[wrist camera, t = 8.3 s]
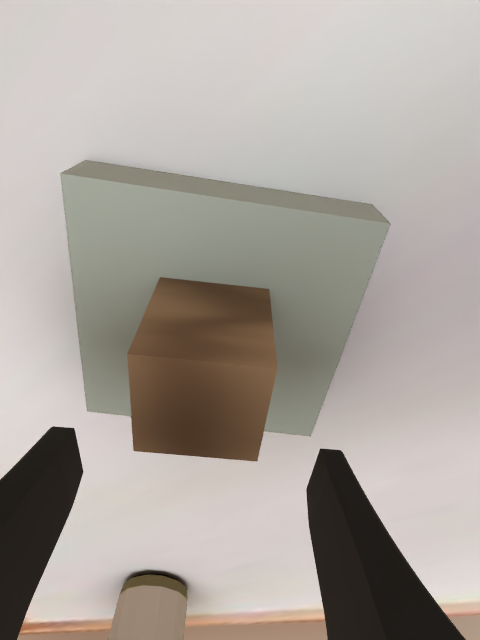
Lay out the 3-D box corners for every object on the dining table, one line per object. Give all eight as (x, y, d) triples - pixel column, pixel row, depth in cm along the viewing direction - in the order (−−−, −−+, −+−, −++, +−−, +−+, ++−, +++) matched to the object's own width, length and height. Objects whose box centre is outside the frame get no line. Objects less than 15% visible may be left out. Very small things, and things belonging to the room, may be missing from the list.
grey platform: (368, 200, 16) (390, 223, 14) (303, 396, 23) (310, 436, 20) (90, 157, 16) (60, 173, 13) (105, 373, 22) (87, 411, 20)
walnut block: (269, 288, 15) (277, 368, 11) (254, 370, 18) (257, 461, 14) (159, 277, 15) (127, 354, 11) (160, 362, 18) (133, 451, 14)
